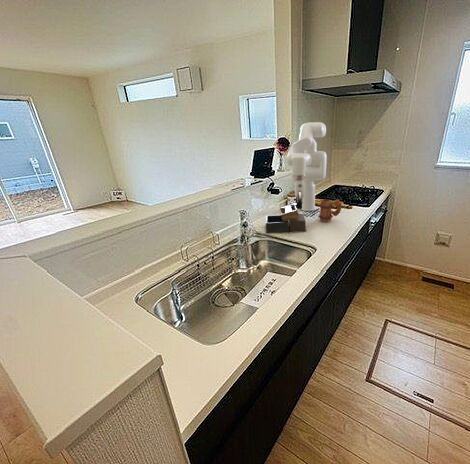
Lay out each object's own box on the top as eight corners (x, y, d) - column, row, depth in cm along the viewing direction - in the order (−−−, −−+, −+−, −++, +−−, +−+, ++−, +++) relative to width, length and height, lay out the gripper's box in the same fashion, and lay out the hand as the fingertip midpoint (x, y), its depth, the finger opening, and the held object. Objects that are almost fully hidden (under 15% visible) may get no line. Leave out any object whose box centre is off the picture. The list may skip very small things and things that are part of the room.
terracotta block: (287, 216, 154) (285, 210, 153) (293, 214, 154) (291, 208, 152) (287, 218, 150) (285, 212, 149) (293, 216, 150) (291, 210, 148)
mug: (317, 222, 166) (318, 200, 160) (318, 218, 173) (319, 197, 167) (340, 224, 162) (341, 201, 156) (340, 219, 170) (342, 198, 164)
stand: (288, 224, 164) (288, 214, 161) (303, 224, 164) (303, 214, 161) (289, 231, 153) (289, 221, 150) (305, 231, 153) (305, 220, 150)
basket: (266, 225, 164) (266, 215, 162) (287, 224, 165) (287, 214, 162) (266, 233, 152) (265, 223, 149) (288, 232, 152) (288, 222, 149)
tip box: (282, 214, 162) (278, 204, 159) (302, 208, 160) (299, 198, 158) (283, 221, 149) (279, 211, 147) (304, 215, 148) (301, 204, 146)
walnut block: (286, 213, 160) (284, 207, 158) (292, 211, 159) (290, 205, 158) (286, 215, 156) (285, 209, 154) (293, 213, 156) (291, 207, 154)
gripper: (307, 180, 138) (306, 211, 145) (303, 174, 154) (302, 202, 161) (293, 180, 138) (293, 211, 145) (291, 174, 154) (291, 203, 161)
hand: (298, 206), depth 153 cm, fingers closed on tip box, 6 cm apart
